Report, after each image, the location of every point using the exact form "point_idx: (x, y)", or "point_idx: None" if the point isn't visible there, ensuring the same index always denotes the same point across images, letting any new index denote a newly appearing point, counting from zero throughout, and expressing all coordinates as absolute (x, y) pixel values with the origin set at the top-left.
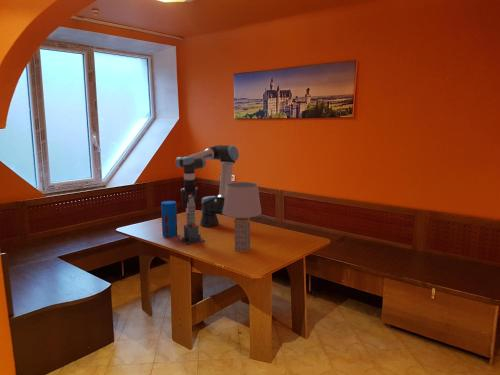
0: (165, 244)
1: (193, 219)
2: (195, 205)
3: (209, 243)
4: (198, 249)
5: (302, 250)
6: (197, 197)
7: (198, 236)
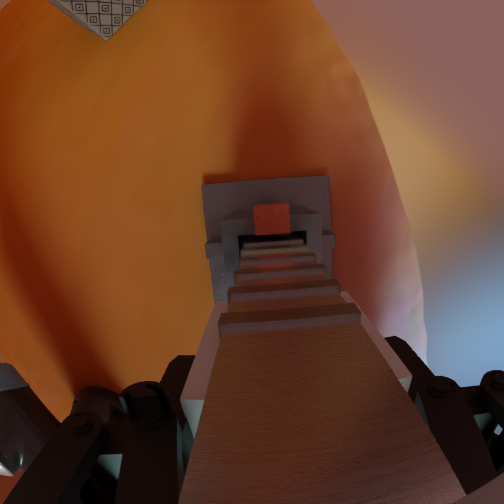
0: (413, 249)
1: (258, 255)
2: (178, 374)
3: (194, 137)
4: (291, 74)
5: (11, 4)
6: (47, 491)
7: (232, 212)
